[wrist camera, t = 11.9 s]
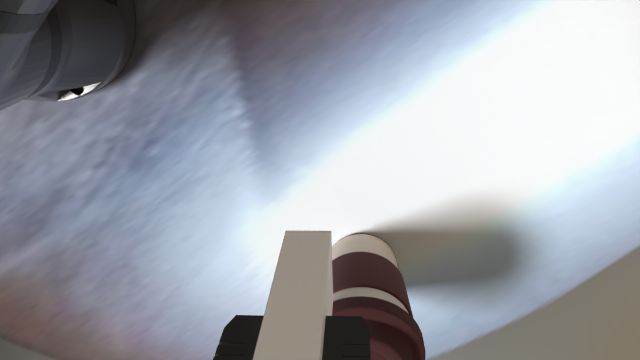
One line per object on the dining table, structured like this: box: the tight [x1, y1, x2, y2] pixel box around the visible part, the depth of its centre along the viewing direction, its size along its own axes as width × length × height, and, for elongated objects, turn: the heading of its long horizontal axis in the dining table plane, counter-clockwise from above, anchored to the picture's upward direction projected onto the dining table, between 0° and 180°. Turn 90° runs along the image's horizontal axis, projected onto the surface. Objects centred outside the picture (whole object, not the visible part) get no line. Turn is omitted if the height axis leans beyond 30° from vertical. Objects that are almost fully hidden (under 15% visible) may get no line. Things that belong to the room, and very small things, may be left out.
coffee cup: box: [332, 234, 425, 360], centre depth 45 cm, size 10×10×15 cm
